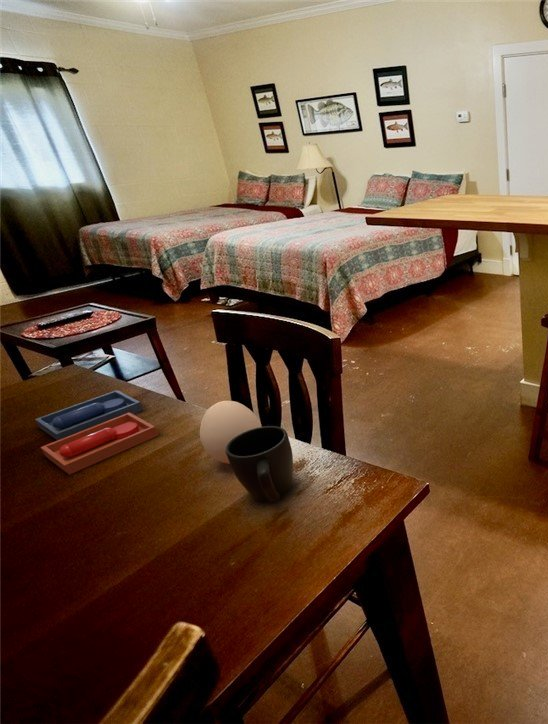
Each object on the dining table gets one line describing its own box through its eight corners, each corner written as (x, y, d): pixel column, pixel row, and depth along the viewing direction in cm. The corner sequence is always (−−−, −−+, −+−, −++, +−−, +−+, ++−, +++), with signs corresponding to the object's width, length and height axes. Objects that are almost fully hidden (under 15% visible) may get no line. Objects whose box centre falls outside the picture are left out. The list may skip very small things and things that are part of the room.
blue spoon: (59, 433, 89) (54, 422, 88) (51, 427, 91) (45, 416, 90) (130, 406, 98) (125, 396, 97) (121, 401, 99) (116, 391, 98)
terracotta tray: (69, 474, 79) (64, 465, 78) (45, 456, 83) (40, 447, 82) (158, 435, 89) (155, 426, 88) (133, 420, 94) (129, 412, 93)
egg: (279, 447, 85) (263, 392, 80) (243, 478, 78) (223, 419, 73) (238, 442, 87) (219, 387, 82) (199, 472, 79) (175, 414, 74)
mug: (244, 532, 67) (224, 479, 63) (242, 484, 76) (225, 435, 72) (307, 511, 71) (292, 459, 67) (298, 467, 80) (284, 420, 76)
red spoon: (68, 463, 81) (62, 452, 80) (58, 456, 82) (52, 445, 81) (143, 431, 89) (139, 420, 88) (133, 425, 91) (128, 414, 90)
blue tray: (60, 443, 87) (56, 434, 86) (39, 427, 91) (34, 419, 91) (143, 410, 97) (140, 401, 96) (120, 397, 102) (117, 389, 101)
